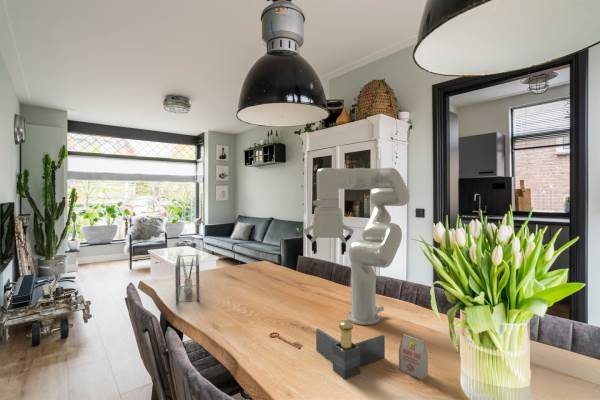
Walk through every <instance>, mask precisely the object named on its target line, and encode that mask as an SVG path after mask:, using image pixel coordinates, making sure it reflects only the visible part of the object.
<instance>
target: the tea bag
mask: <svg viewBox="0 0 600 400" xmlns="http://www.w3.org/2000/svg"><path fill="white" fill-rule="evenodd" d="M398 371H400V372H401V373H404V374H406V375H409V376H411V377H413V378H415V379H418V380H420V381H422V380H424V379H425V378H427V377H428V375H429V352H428V349H427V345H426V341H425V340H421V339H420V338H416V337H413V336H411V335H407V334H405V333H401V339H400V344H399V347H398Z"/></svg>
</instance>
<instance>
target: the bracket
mask: <svg viewBox="0 0 600 400" xmlns="http://www.w3.org/2000/svg"><path fill="white" fill-rule="evenodd" d="M315 332H316V333H315V338H316V339H315V343H316V345H315V347H316V348H315V350H316V352H317V353H319V354H320V355H321V356H323V357H324V358H325V359H327V360H328V361H330V362H331V363H332V371H333V372H334V373H336V374H337V375H338V376H339V377H341V378H342V379H343V380H348V379H350V378H353V377H356V376H358V375H360V374H361V368H363V367H366V366H368V365H371V364H374V363H376V362H380V361H382V360H384V359H386V357H385V356H386V355H385V354H386V353H385V352H386V351H385V350H386V347H385V346H386V345H385V344H386V342H385V341H386V340H385V338H386V336H385V335H384V334H381V335H378V336H376V337H372V338H368V339H366V340H363V341H359V342H356V343H354V342H352V349H350V350H347V351H344V350H343V349H341V341H339V340H337V339H335V338H334V337H332V336H331V335H329V334H327V333H326V332H325V331H323V330H321V329H320V328H316V329H315Z"/></svg>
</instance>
